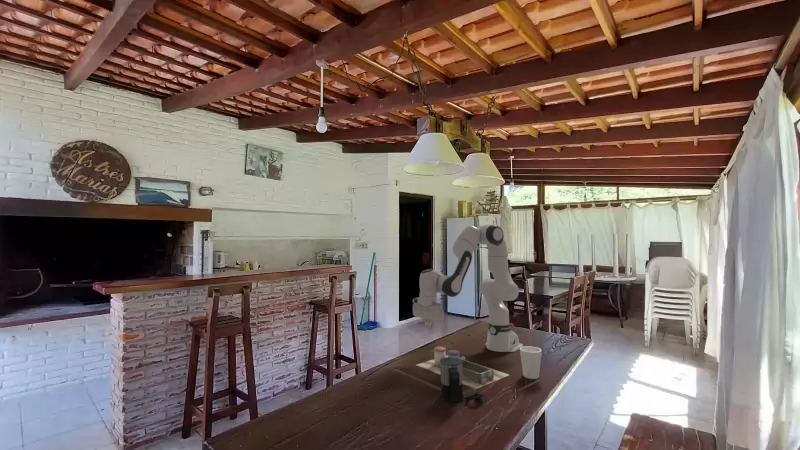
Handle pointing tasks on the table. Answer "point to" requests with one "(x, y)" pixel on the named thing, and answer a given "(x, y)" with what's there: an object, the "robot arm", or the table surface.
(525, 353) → the foam cup
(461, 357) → the pusher
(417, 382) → the table surface
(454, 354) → the jar
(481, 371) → the cream rippled cloth
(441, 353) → the jar
